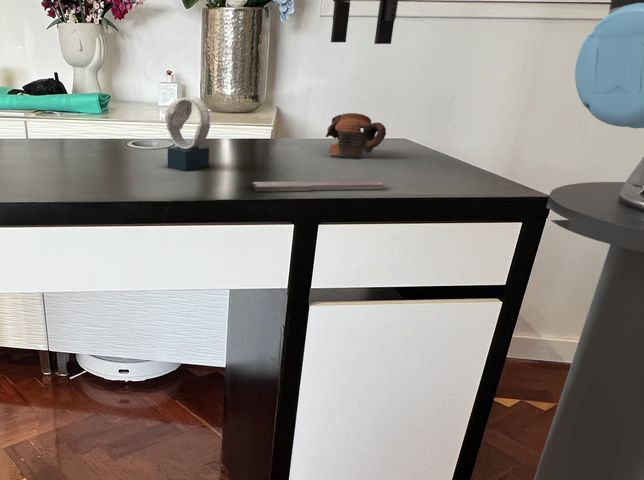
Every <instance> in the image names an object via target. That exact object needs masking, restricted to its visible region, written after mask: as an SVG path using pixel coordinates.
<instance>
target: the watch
mask: <svg viewBox="0 0 644 480" xmlns="http://www.w3.org/2000/svg"><path fill="white" fill-rule="evenodd" d="M192 106H194V107H195V108H196V110H197V112H198V116H199V121H198V125H197V127H196V130H195V134H194V136H193V138H192V139H191V144H189V143H188V142H186V141H185V139H184V137H183V135H182V133H181V130H182V129H183V127H184V125H185V123H186V122H187V120H189V118H190V116H191V115H192V111H193V107H192ZM164 121H165V122H166V130H167V131H168V133H169V137H170V139H171V140H172V142H173V143H174V144H175V146H173V147H167V168H169V169H175V170H179V171H183V172H187V171H193V170H198V169H204V168H209V165H210V147H208V146H202V145H203V144H204V143H205V141H206V140H207V137H208V135H209V131H210V129H211V124H210V123H211V116H210V112H209V108H208V106H207V104H206V103H205V102H204V100H202V99H201V98H200V97H197V96H190V97H179V98H177V99H175V100H174V101H172V102H171V103H170V105H169V106H168V107H167V109H166V110H165V114H164Z"/></svg>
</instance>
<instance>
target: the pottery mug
mask: <svg viewBox="0 0 644 480" xmlns="http://www.w3.org/2000/svg"><path fill="white" fill-rule="evenodd" d="M386 128H387V127H386V126H385V125H384V124H383V123H382V122H372V119H371V118H370V117H369V116H367V115H365V114H362V113H355V112H348V113H341V114H338V115H336V116H333V117H332V119H331V124H330V125H329V126H328V128H327V129H326V131H327V132H326V134H325V138H328V137H332V138H333V139H337V141H336V142H334V143H331V144H329V156H330V157H338V156H347V157H354V158H358V159H360V158H361V157H362V154H363V153H362V152H364V151H365V153H366V154H370V153H372V151H373V150H374V148H377V147H378V146H380V144H381V143H382V142H383V141H384V139H385V137H386V135H387V129H386Z"/></svg>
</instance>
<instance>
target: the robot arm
mask: <svg viewBox="0 0 644 480" xmlns="http://www.w3.org/2000/svg"><path fill="white" fill-rule="evenodd" d="M351 1H352V0H332V2H333V3H334V4H333V13H332V26H331V27H332V28H331V36H330V43H346V42H347V36H348V26H349V17H350V8H351ZM398 5H399V0H379V6H378V13H377V20H376V28H375V36H374V42H373V43H374V45H391V44H392V38H393V33H394V27H395V26H394V25H395V21H396V18H397V12H398ZM593 30H594V31H592V32H591V33H590V34H589V35H587V36H586V37H585V38H584V41H583V42H582V44H581V45H580V46H581V47H580V48H579V51H578V55H577V58H576V62H575V69H574V79H575V81H574V82H575V86H576V92H577V95H578V97H579V101H581V103H582V105H583V106H584V107H585V108H586V109H587V110H588V111H589V113H590V114H591V115H592V116H593V117H594V118H595V119H597V120H598V121H600V122H602V123H605V124H607V125H610V126H614V127H622V128H632V129H644V0H610V3H609V11H608V15H606V16H605V17H604V18H602V19H601V20H600V21H599V22H597V24H596V25H594V28H593ZM624 182H625V184H624V185H623V188H622V189H621V193H620V196H619V199H618V201H619V202H620V203H621V204H623V205H624V206H626V207H629V208H631V209H634V210H637V211H641V212H644V156H643V157H642V158H641V159H640V161H639V162H638V164H637V165H636V166H635V168H634V169H633V171H632V172H631V173H630V174H629V176H628V178H627V179H626V181H624Z"/></svg>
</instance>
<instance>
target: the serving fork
mask: <svg viewBox="0 0 644 480" xmlns="http://www.w3.org/2000/svg"><path fill="white" fill-rule="evenodd" d="M384 186H385V184H384V183H382V182H381V181H309V182H308V181H253V182H252V188H253V190H254V191H255V192H256V193H266V192H268V193H269V192H270V193H271V192H272V193H273V192H275V193H276V192H278V193H279V192H280V193H281V192H311V191H370V190H371V191H372V190H373V191H375V190H384Z"/></svg>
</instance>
